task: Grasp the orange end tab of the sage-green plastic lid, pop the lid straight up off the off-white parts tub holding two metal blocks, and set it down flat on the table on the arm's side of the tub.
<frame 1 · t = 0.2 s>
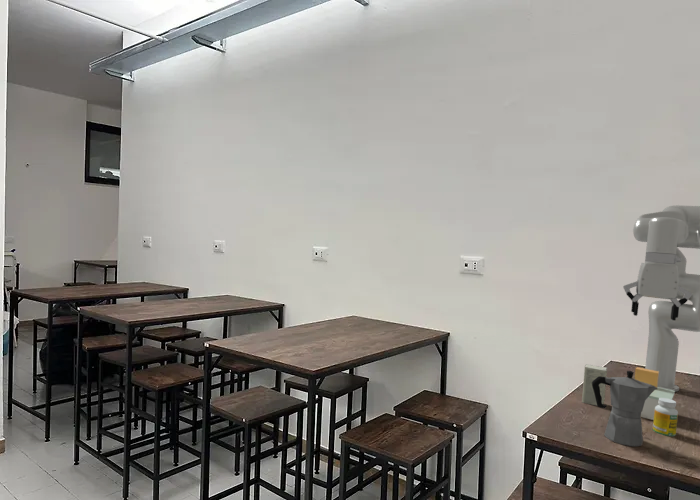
hand: (653, 317, 147), 30 cm above the table, fingers open, 9 cm apart
lid: (643, 391, 151), point 7 cm above the table, touching tub
supplement bottle: (663, 435, 135), on the table
tub: (641, 413, 151), on the table
skincare box: (592, 406, 156), on the table
part a: (631, 406, 155), point 1 cm above the table, touching tub
part b: (652, 416, 148), point 1 cm above the table, touching tub
coffeepot: (618, 439, 130), on the table
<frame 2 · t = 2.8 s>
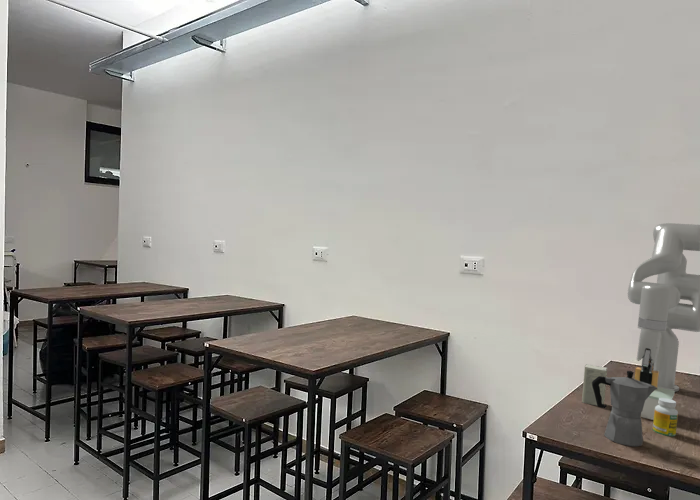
hand: (645, 383, 155), 9 cm above the table, fingers closed on lid, 3 cm apart
lid: (643, 391, 151), point 7 cm above the table, touching gripper, tub
everything else where it was.
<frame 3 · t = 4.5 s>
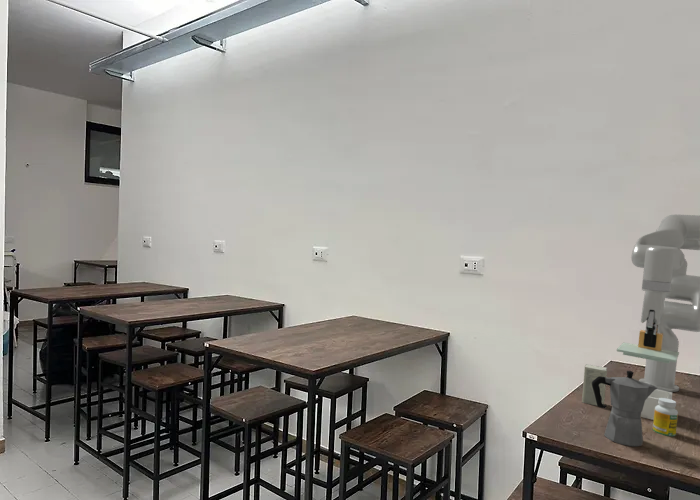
hand: (650, 345, 155), 20 cm above the table, fingers closed on lid, 3 cm apart
lid: (647, 352, 151), point 19 cm above the table, touching gripper
everything else where it was.
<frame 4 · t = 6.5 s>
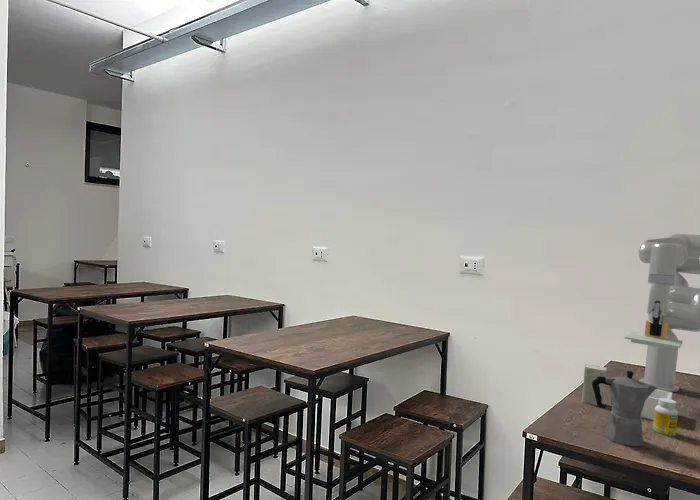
hand: (655, 334, 167), 22 cm above the table, fingers closed on lid, 3 cm apart
lid: (653, 340, 163), point 20 cm above the table, touching gripper
everything else where it was.
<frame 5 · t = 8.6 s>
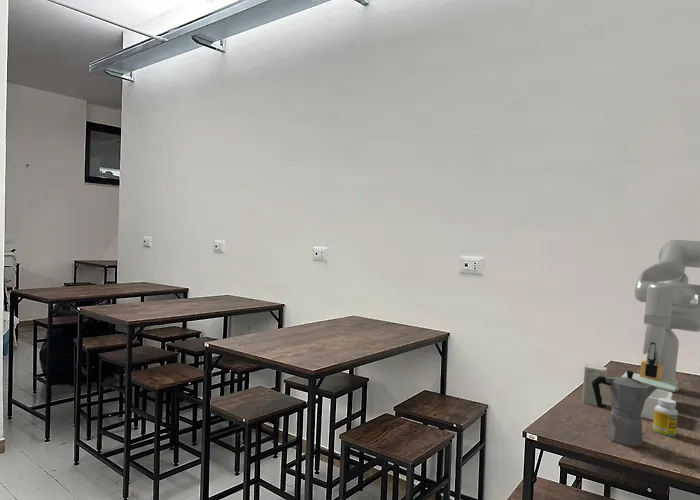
hand: (651, 375, 167), 8 cm above the table, fingers closed on lid, 3 cm apart
lid: (648, 382, 163), point 7 cm above the table, touching gripper
everything else where it was.
when the fingers open (4 cm above the table, at t = 10.2 s): lid drops 2 cm, point 1 cm above the table.
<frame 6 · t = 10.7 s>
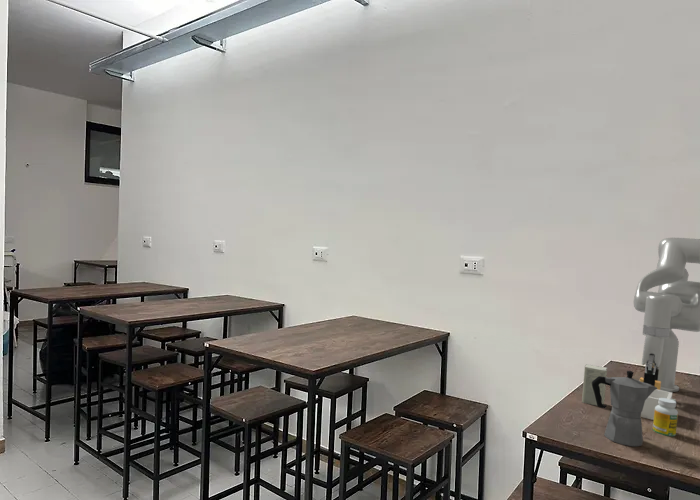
hand: (650, 382, 167), 6 cm above the table, fingers open, 9 cm apart
lid: (647, 399, 164), point 1 cm above the table
everything else where it was.
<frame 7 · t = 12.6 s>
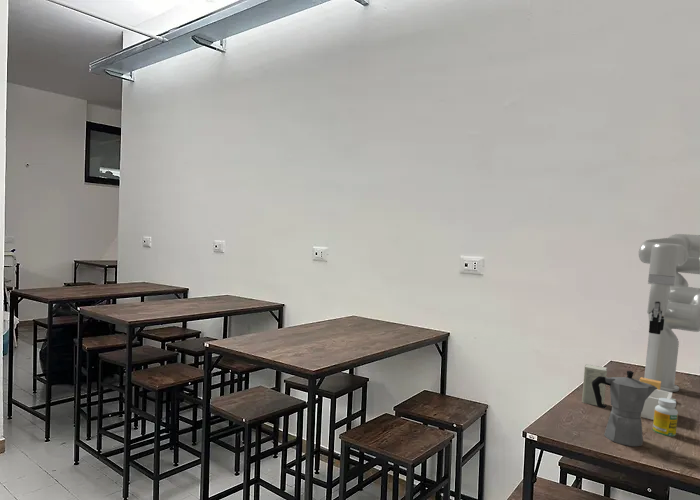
hand: (656, 331, 167), 23 cm above the table, fingers open, 9 cm apart
nothing on the table moved.
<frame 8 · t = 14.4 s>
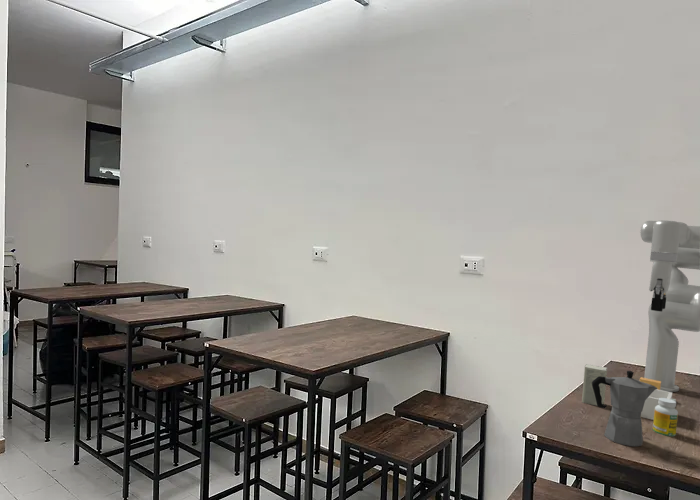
hand: (658, 309, 165), 30 cm above the table, fingers open, 9 cm apart
nothing on the table moved.
at the end: lid inside the target area (0.1 cm from its centre), point 0.7 cm above the table; lid tilted 0°; the gripper is holding nothing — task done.
